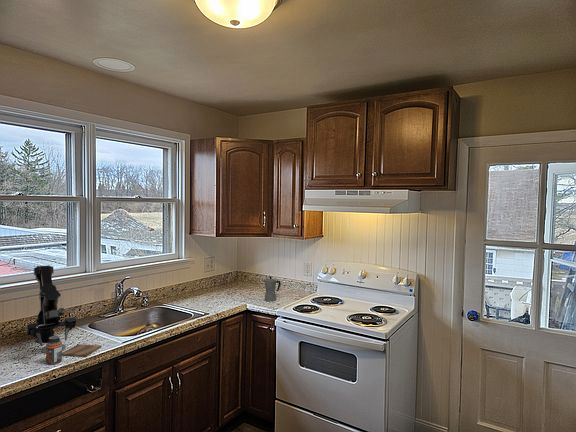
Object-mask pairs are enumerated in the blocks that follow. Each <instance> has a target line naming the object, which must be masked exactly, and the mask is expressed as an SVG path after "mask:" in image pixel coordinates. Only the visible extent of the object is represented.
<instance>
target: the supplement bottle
mask: <svg viewBox="0 0 576 432" xmlns="http://www.w3.org/2000/svg"><path fill="white" fill-rule="evenodd" d="M62 344H63V342H62V340H60V335H54V336H52V337H49V342H48V343H46V345H45V346H46V353H45V354H46V355H45V356H46V357H45V362H46V363H45V364H46V365H49V366H50V365H57V364H60V363H61V362H62V361H63V360H62V359H63V356H62V353H63V350H62Z"/></svg>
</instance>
